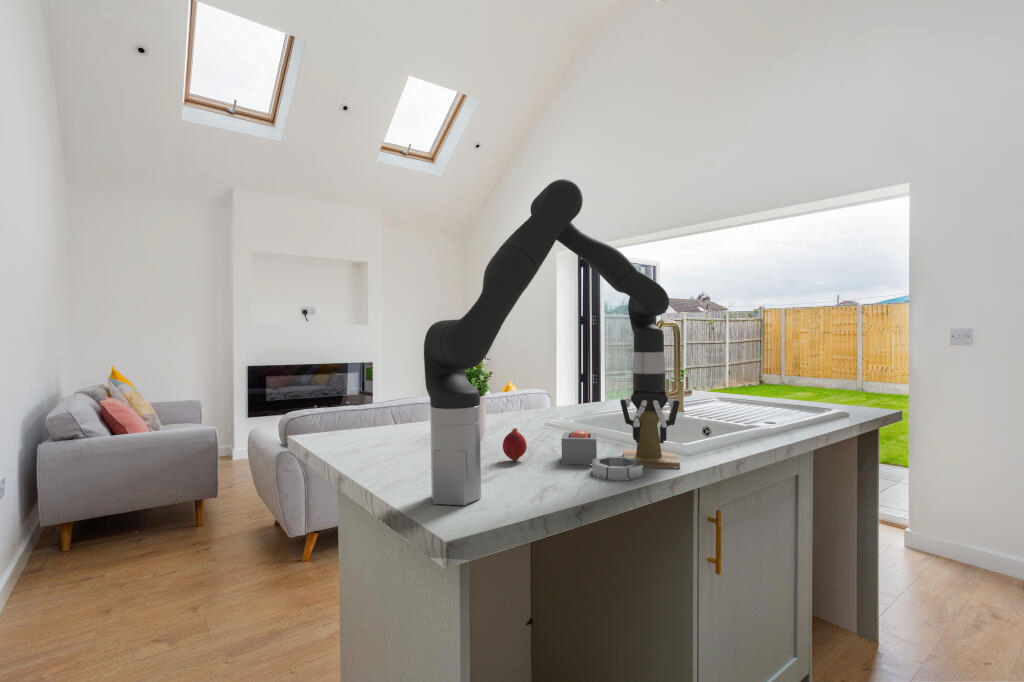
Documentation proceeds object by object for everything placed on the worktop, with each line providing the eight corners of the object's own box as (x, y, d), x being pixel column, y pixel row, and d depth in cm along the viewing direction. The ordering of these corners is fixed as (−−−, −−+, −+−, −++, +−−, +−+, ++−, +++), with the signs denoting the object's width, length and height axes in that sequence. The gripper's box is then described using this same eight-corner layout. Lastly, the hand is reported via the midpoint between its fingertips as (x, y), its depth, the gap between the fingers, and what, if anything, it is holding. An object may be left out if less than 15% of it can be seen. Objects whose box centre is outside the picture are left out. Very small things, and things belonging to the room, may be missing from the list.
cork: (634, 458, 118) (633, 411, 118) (637, 452, 124) (636, 407, 124) (660, 459, 116) (660, 412, 116) (663, 454, 122) (662, 408, 122)
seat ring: (643, 481, 103) (643, 468, 103) (592, 479, 105) (591, 467, 105) (640, 468, 114) (639, 456, 114) (593, 466, 116) (592, 455, 116)
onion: (522, 464, 118) (522, 430, 118) (499, 463, 120) (498, 429, 120) (529, 459, 124) (529, 426, 123) (507, 457, 125) (507, 425, 125)
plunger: (587, 459, 119) (587, 434, 119) (570, 459, 120) (570, 433, 120) (588, 455, 123) (588, 431, 123) (571, 455, 124) (571, 430, 124)
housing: (596, 465, 117) (596, 439, 117) (561, 464, 118) (561, 438, 118) (596, 457, 125) (596, 432, 125) (564, 456, 126) (564, 432, 126)
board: (679, 468, 113) (679, 463, 113) (625, 466, 115) (625, 461, 115) (672, 456, 125) (672, 451, 125) (623, 454, 127) (623, 449, 127)
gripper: (618, 372, 117) (619, 445, 117) (682, 372, 115) (683, 446, 115) (617, 370, 125) (618, 438, 125) (678, 370, 122) (678, 440, 122)
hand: (649, 442), depth 120 cm, fingers open, 5 cm apart
